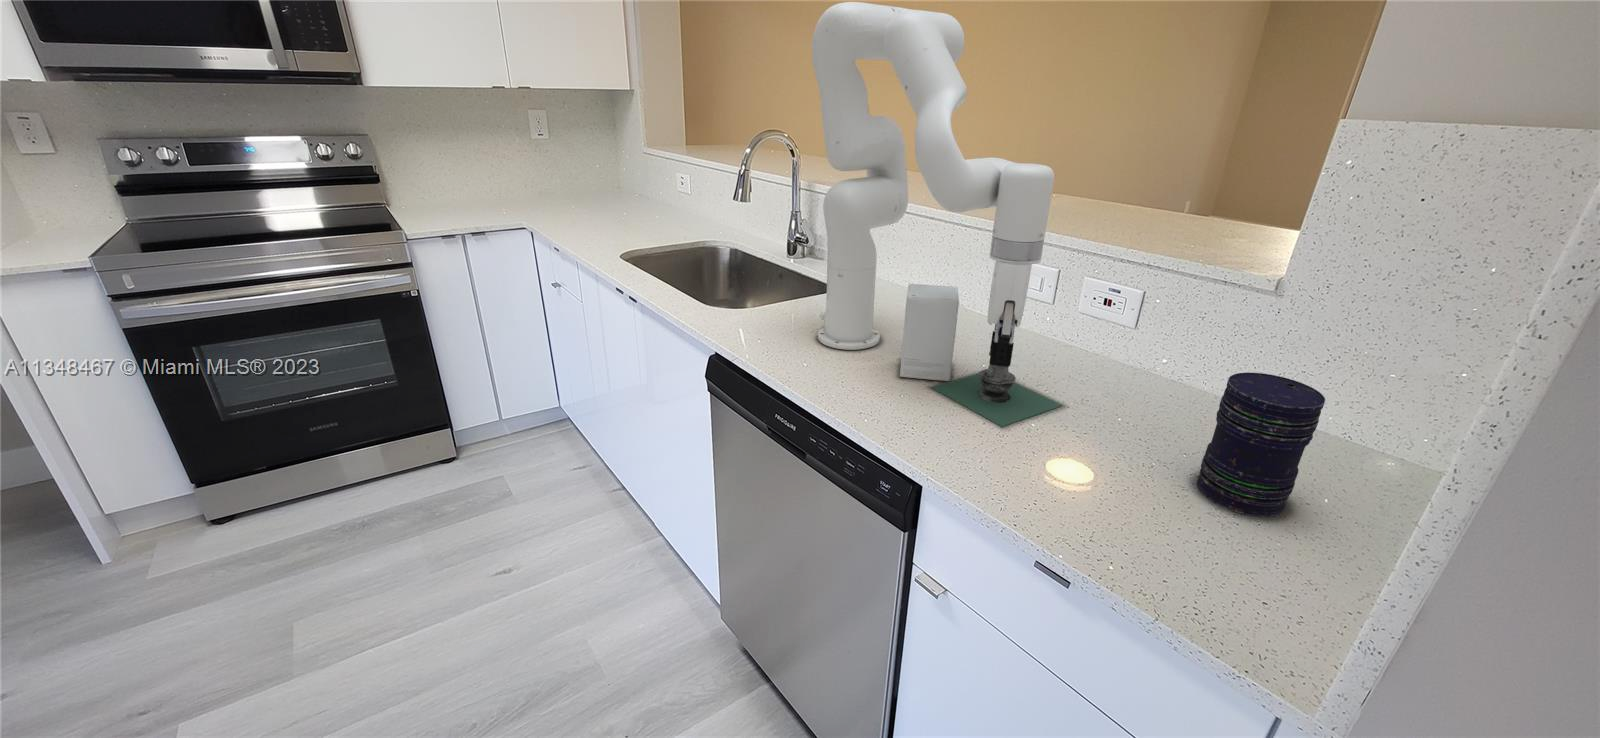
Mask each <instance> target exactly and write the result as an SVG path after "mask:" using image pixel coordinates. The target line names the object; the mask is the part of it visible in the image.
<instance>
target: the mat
mask: <svg viewBox="0 0 1600 738" xmlns="http://www.w3.org/2000/svg"><path fill="white" fill-rule="evenodd" d="M930 388H931V389H932V390H934V391H936V392H937V393H939V394H941V395H942V396H943V395H944V396H945V397H947V398H949V399H950V400H952V401H954V402H956V403H958V404H959V405H961V406H963V407H964V408H967V409H968V410H970V411H972V412H974V413H976V414H978V415H979V416H981V417H983V418H984V419H986V420H989V421H990V422H992V423H994V424H995V425H998V426H999V427H1001V428H1003V427H1007V426H1010V425H1012V424H1015V423H1017V422H1021V421H1023V420H1026V419H1029V418H1032V417H1034V416H1035V417H1036V416H1037V415H1041V414H1043V413H1046V412H1050V411H1052V410H1054V409H1057V408H1060V407H1063V404H1061V403H1059V402H1057V401H1054V400H1053V399H1051V398H1049V397H1046V396H1044V395H1042V394H1040V393H1038V392H1036V391H1033V390H1032V389H1030V388H1027V387H1025V386H1023V385H1021V384H1019V383H1016V381H1014V382H1013V385H1012V386H1011V388H1010V389H1009V390H1008V391H1006V392H1008V393H1009V394H1010V396H1011V398H1010V400H1009V401H1007V402H1002V403H997V402H990V401H987V400H984V399H982V398H981V397H980V396H979V395H978V392H979V391H980V390H981V389H984V387H983V386H982V384H981V381H980V377H979V373H975V374H972V375H968V376H965V377H962V378H958V379H955V380H950V381H946V382H944V383H941V384H937V385H933V386H931V387H930Z"/></svg>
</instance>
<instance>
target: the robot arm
mask: <svg viewBox="0 0 1600 738" xmlns="http://www.w3.org/2000/svg"><path fill="white" fill-rule="evenodd" d="M811 39H812V40H811V58H812V65H813V70H814V74H815V78H816V82H817V87H818V91H819V98H820V110H821V120H822V129H823V138H824V147H825V154H826V159H827V161H828V163H829V165H830V166H831V168H833V169H835V170H837V171H840V172H856V171H857V172H859V171H866V176H864V177H855V178H847V179H843V180H841V181H838V182H836V183H835V184H833V185H832V186H831V187H830V188H829V189H828V190H827V192H826V193H825V196H824V199H823V203H822V204H823V205H822V206H823V207H822V208H823V209H822V210H823V216H824V217H823V218H824V222H825V229H826V239H827V243H826V244H827V255H826V256H827V259H826V264H827V266H826V267H827V268H826V302H825V304H826V305H825V306H826V307H825V308H826V309H825V312H823V311H822V312H820V314H819V318H820V319H821V320H823V321H824V323H823V327H822V328H820V329H819V330H818V332H817V339H818V341H819V342H820V343H821V344H822V345H824V346H827V347H829V348H833V349H836V350H837V349H838V350H845V351H846V350H847V351H856V350H857V351H858V350H864V349H870V348H873V347H874V346H876V345H878V344H879V343H880V339H881V335H880V332H879V331H877V329H875V328H874V313H875V312H874V311H875V310H874V309H875V296H876V279H877V278H876V277H877V257H878V255H877V247H876V244H875V242H874V239H873V236H872V234H871V230H872V229H876V228H881V227H886V226H890V225H893V224H896V223H897V222H899V221H901V219H902V218H904V216H905V214H906V212H907V210H908V205H909V183H908V170H907V155H906V145H905V139H904V135H903V133H902V130H901V128H900V126H899V125H898V124H897V123H896V122H895V120H893V119H892V118H890V117H888V116H884V115H871V113H870V107H869V106H870V105H869V94H868V93H869V92H868V88H867V84H866V82H865V80H864V79H865V78H864V76H863V75H862V73H861V71H860V69H859V68H858V67H857V65H856V61H857V60H872V61H889V63H890V65H891V67H892V68H893V71H894V73H895V75H896V77H897V79H898V81H899V83H900V85H901V87H902V89H903V91H904V93H905V96H906V98H907V99H908V102H909V105H910V106H911V108H912V110H913V112H914V114H915V116H916V125H915V129H914V130H915V131H914V155H915V160H916V164H917V167H918V170H919V172H920V174H921V176H922V178H923V180H924V183H925V184H926V186H927V188H928V190H929V192H930V194H931V195H932V197H933V198H934V201H935V202H937V204H938V205H939V206H940V207H942V208H943V209H944V210H946V211H947V212H951V213H965V212H970V211H976V210H983V209H990V208H995V213H994V219H993V220H994V221H993V227H992V236H991V241H990V250H989V258H990V259H991V260H992V261H995V263H994V267H993V273H992V279H991V287H990V293H989V301H988V309H987V323H988V325H990V326H992V325H993V324H994V329H993V330H992V333H991V341H990V350H989V352H991V355H989V364H991V365H996V366H1005V367H1008V368H1009V367H1011V365H1012V364H1011V362H1012V358H1013V350H1014V345H1015V343H1014V337H1015V330H1016V328H1018V327H1019V326H1021V323H1022V319H1023V315H1024V311H1025V305H1026V301H1027V296H1028V291H1029V285H1030V278H1031V273H1032V266H1033V265H1037V264H1039V263H1040V262H1041V261H1042V255H1043V250H1044V244H1045V236H1046V233H1047V232H1046V230H1047V226H1048V225H1047V224H1048V219H1049V213H1050V207H1051V201H1052V195H1053V189H1054V184H1055V173H1054V169H1052V168H1051V167H1050V166H1049V165H1045V164H1040V163H1039V164H1038V163H1026V162H1024V163H1023V162H1022V163H1021V162H1020V163H1019V162H1015V161H1011V160H1008V159H1004V158H1001V157H992V156H991V157H982V158H981V157H979V158H968V159H967V158H966V159H965V157H964V156H963V153H962V151H961V150H960V147H959V145H958V143H957V141H956V138H955V136H954V133H953V128H952V116H953V114H954V113H955V112H956V111H957V110H958V109H959V108H960V107H961V106H962V105H963V104H964V102H965V100H966V99H967V95H968V87H967V85H966V83H965V81H964V80H963V77H962V75H961V73H960V71H959V70H958V68H957V65H956V64H957V63H958V62H959V61H960V59H961V57H962V54H963V52H964V49H965V41H966V39H965V33H964V30H963V27H962V25H961V24H960V22H959V21H958V20H957V19H956V18H955V17H954V16H953V15H950V14H948V13H945V12H937V11H929V10H923V9H910V8H907V7H906V8H905V7H899V6H892V5H884V4H883V5H882V4H875V3H870V2H869V3H868V2H859V1H845V2H840V3H835V4H833V5H831V6H830V7H828V8H827V9H826V10H825V11H824V12H823V13H822V14H821V15H820V17H819V18H818V21H817V23H816V25H815V28H814V30H813V35H812V38H811ZM994 336H995V340H994V341H993V339H994Z"/></svg>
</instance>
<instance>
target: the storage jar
mask: <svg viewBox="0 0 1600 738" xmlns="http://www.w3.org/2000/svg"><path fill="white" fill-rule="evenodd" d="M1325 403H1326V397H1325V396H1324V395H1323V393H1321V392H1320V391H1319V390H1318V389H1315V388H1314V387H1312V386H1310V385H1308V384H1305V383H1302V382H1300V381H1297V380H1295V379H1291V378H1288V377H1283V376H1280V375H1276V374H1270V373H1263V372H1262V373H1261V372H1239V373H1234V374H1231V375H1230V376H1229V377H1228V379H1227V382H1226V387H1225V388H1224V391H1223V395H1222V396H1221V398H1220V402H1219V404H1218V410H1217V411H1216V417H1215V420H1216V425H1215V429H1214V431H1213V435H1212V438H1211V441H1210V442H1209V443H1208V444H1207V447H1206V449H1205V453H1204V455H1203V457H1202V459H1201V463H1200V469H1199V475H1198V476H1197V479H1196V488H1197V489H1198V491H1199V492H1200V493H1201V494H1202V495H1203V496H1204V497H1205V498H1207V499H1208V500H1210V501H1211V502H1212V503H1214V504H1216V505H1218V506H1220V507H1222V508H1223V509H1226V510H1228V511H1232V512H1235V513H1238V514H1240V515H1241V514H1242V515H1245V516H1251V517H1258V518H1259V517H1260V518H1265V517H1266V518H1270V517H1275V516H1278V515H1280V514H1282V513H1283V512H1284V511H1285V508H1286V505H1287V502H1288V500H1289V498H1290V495H1291V494H1292V493H1293V491H1294V488H1295V485H1296V480H1297V478H1298V475H1299V465H1300V462H1301V459H1302V457H1303V454H1304V451H1305V448H1306V447H1307V446H1308V445H1309V444H1310V443H1311V441H1312V440H1313V438H1314V433H1315V432H1316V430H1317V427H1318V425H1319V422H1320V416H1321V414H1322V410H1323V408H1324V406H1325Z"/></svg>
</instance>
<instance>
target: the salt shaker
mask: <svg viewBox="0 0 1600 738" xmlns="http://www.w3.org/2000/svg"><path fill="white" fill-rule="evenodd" d="M994 340H995V336H994V339H993V341H994ZM990 355H991V352H990V351H989V352H988V356H990ZM978 374H979V377H980V381H981V384H982V386H983V387H984V389H981V390H980V391H979V392H978V395H979V396H980V397H981V398H982V399H984V400H987V401H990V402H997V403H1002V402H1007V401H1009V400H1010V398H1011V396H1010V394H1009V393H1008V392H1006V391H1008V390H1009V389H1010V388H1011V386H1012V385H1013V382H1016V380H1017V378H1016V375H1014V374H1013V373H1012V372H1010V371H1009V367H1005V366H996V365H991V364H990V363H988V367H987V368H985V369H983V370H981V371H979V373H978Z"/></svg>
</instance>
